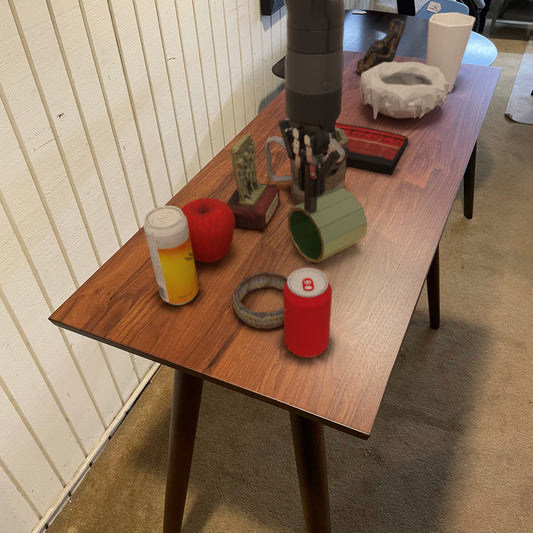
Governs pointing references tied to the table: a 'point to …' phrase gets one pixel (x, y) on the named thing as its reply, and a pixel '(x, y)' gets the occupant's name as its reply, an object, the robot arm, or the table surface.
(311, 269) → the beverage can
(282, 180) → the mug
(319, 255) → the pot
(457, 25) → the cup
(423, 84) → the bowl
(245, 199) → the sculpture
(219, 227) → the apple
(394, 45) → the statue
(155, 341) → the table surface
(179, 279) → the beer can
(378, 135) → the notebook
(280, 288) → the decorative ring
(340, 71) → the robot arm
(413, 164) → the table surface
